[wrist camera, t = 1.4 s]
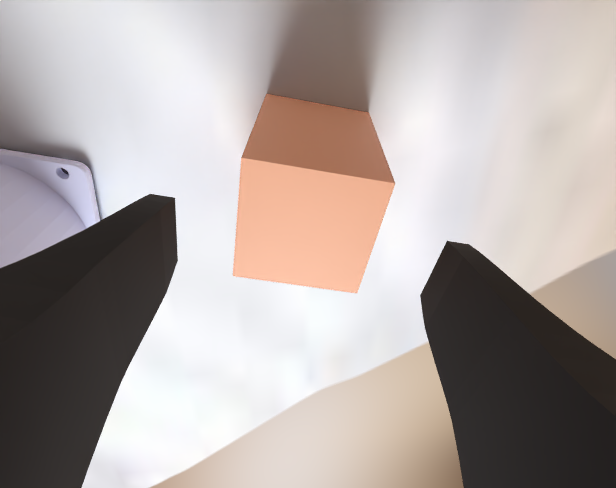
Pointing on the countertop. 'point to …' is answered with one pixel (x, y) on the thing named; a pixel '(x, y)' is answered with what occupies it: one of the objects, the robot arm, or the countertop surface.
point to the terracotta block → (310, 195)
